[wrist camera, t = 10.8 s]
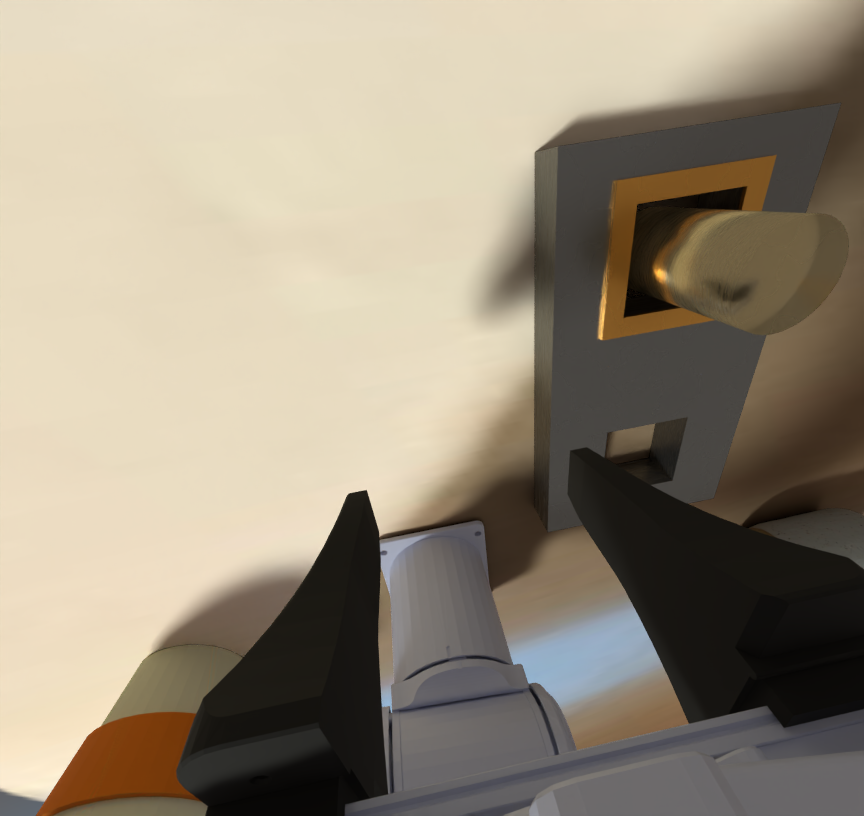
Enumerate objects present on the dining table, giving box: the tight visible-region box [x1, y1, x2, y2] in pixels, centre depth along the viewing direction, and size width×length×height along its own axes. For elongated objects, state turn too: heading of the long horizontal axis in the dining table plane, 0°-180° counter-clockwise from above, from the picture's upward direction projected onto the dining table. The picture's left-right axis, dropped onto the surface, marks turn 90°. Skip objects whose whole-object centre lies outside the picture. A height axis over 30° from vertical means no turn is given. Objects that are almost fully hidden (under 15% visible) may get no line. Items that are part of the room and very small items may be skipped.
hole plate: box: [534, 103, 841, 532], centre depth 22 cm, size 22×12×3 cm, turn 8°
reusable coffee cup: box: [36, 645, 242, 816], centre depth 26 cm, size 13×13×15 cm
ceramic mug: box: [748, 508, 864, 569], centre depth 31 cm, size 11×8×8 cm
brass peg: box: [627, 207, 849, 335], centre depth 17 cm, size 4×4×8 cm
